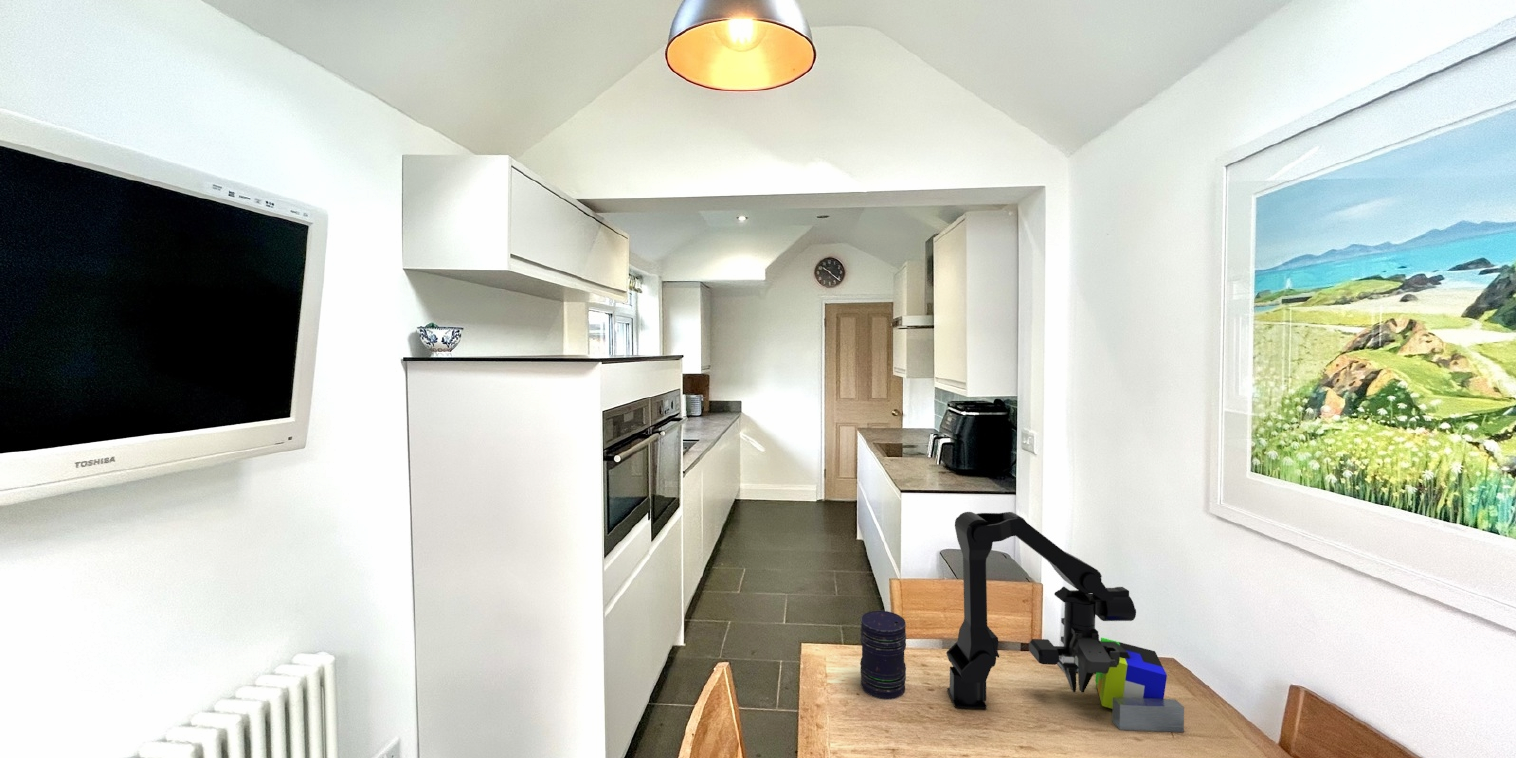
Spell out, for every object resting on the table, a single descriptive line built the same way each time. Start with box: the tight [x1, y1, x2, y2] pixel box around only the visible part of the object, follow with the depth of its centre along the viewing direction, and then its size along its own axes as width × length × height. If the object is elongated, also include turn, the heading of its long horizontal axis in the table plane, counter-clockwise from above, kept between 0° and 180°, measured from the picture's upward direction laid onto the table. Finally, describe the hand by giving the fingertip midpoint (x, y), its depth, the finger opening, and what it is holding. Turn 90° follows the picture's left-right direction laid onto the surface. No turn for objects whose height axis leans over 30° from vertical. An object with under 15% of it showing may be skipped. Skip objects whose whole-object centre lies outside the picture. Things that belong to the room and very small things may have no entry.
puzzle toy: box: [1094, 637, 1168, 710], centre depth 118 cm, size 10×10×10 cm
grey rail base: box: [1056, 662, 1185, 733], centre depth 121 cm, size 14×25×5 cm, turn 176°
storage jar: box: [859, 610, 907, 700], centre depth 124 cm, size 10×10×15 cm
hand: (1077, 691), depth 120 cm, fingers closed on puzzle toy
